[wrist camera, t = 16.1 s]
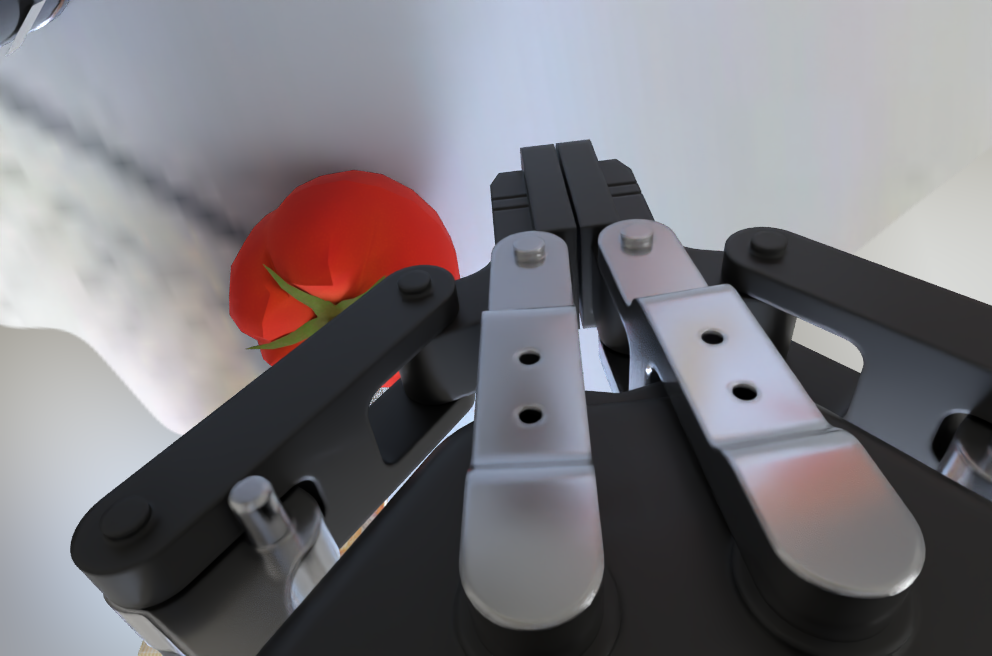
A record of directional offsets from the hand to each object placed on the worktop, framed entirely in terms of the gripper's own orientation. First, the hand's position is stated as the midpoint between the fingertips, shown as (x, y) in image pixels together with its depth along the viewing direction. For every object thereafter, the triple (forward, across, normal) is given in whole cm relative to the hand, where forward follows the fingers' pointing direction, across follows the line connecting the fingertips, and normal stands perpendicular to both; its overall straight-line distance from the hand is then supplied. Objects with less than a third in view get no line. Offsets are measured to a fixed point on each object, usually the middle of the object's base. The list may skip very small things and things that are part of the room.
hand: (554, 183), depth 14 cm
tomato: (+27, +11, +16) cm, 33 cm away
